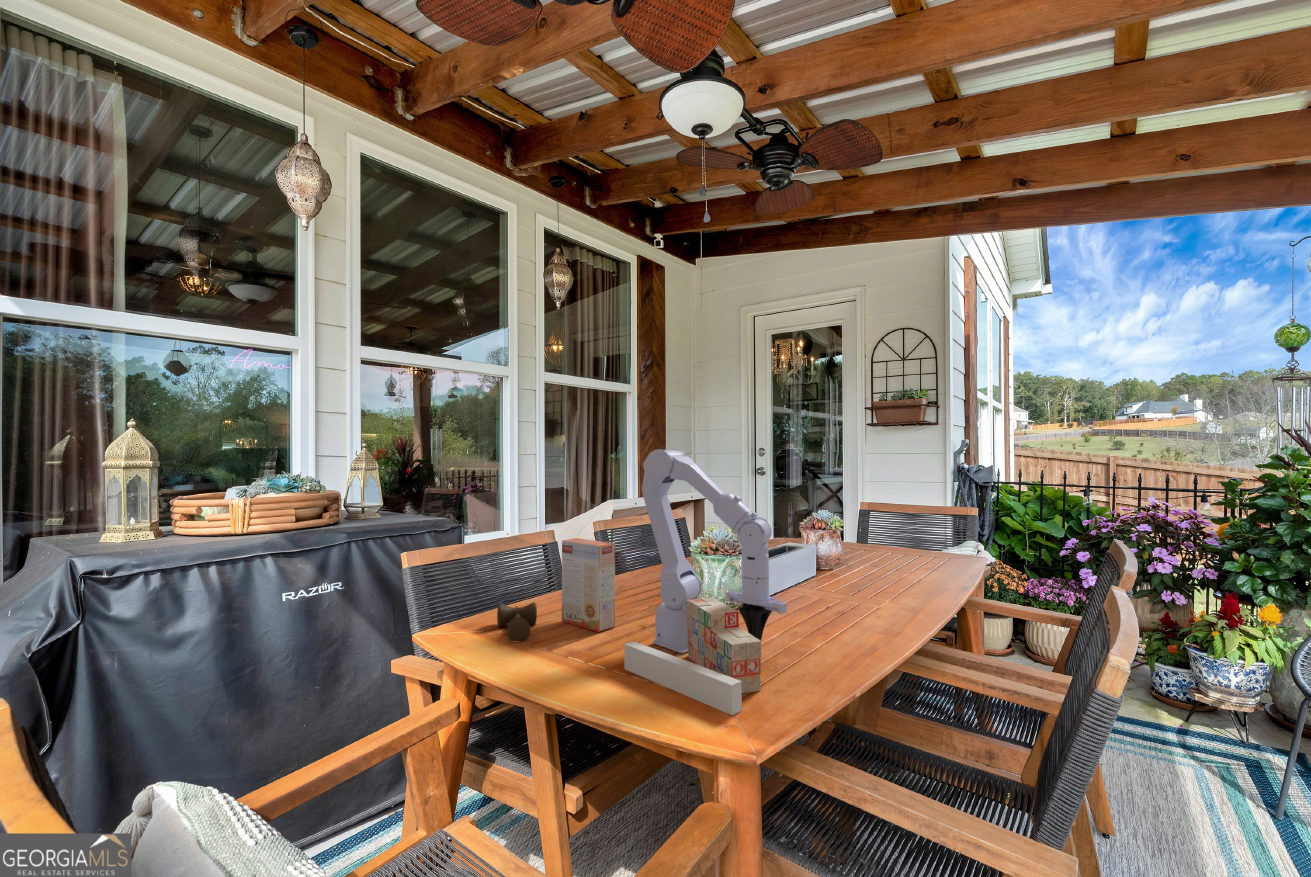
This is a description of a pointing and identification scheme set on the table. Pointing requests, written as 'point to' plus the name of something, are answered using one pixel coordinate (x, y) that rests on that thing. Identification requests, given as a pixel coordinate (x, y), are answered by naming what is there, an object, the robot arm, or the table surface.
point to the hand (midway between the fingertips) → (755, 641)
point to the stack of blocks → (723, 642)
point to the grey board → (684, 677)
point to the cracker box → (588, 583)
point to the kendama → (517, 620)
